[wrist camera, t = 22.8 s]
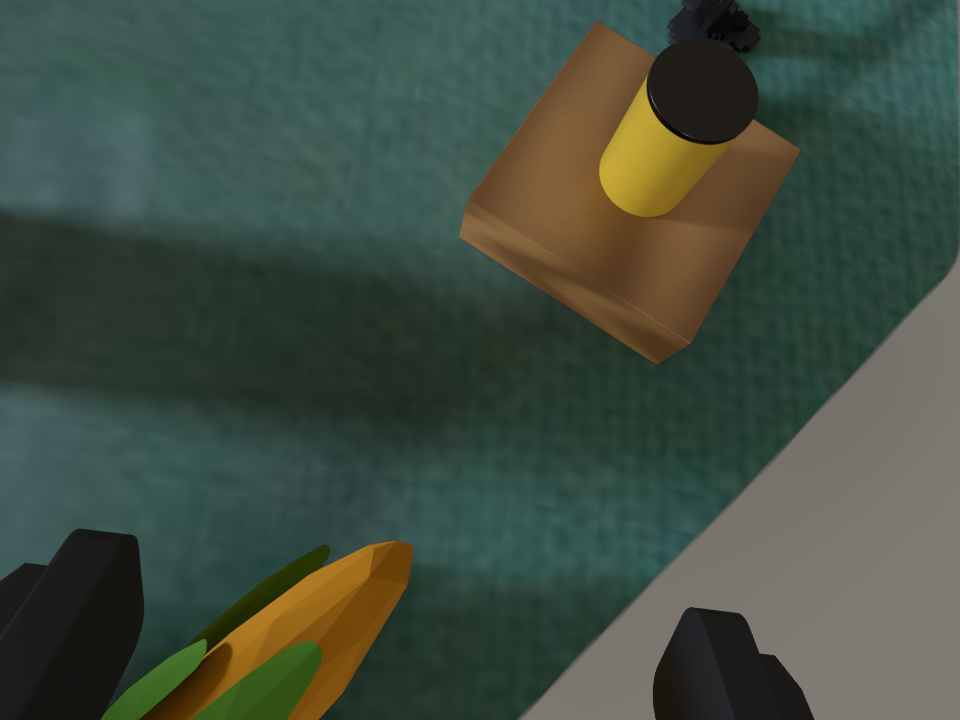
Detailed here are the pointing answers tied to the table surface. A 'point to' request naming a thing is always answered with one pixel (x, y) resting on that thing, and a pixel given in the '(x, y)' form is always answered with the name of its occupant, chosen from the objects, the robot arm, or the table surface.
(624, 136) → the tin
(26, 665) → the robot arm
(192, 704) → the corn
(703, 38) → the block figure
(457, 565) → the table surface
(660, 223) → the wood block
